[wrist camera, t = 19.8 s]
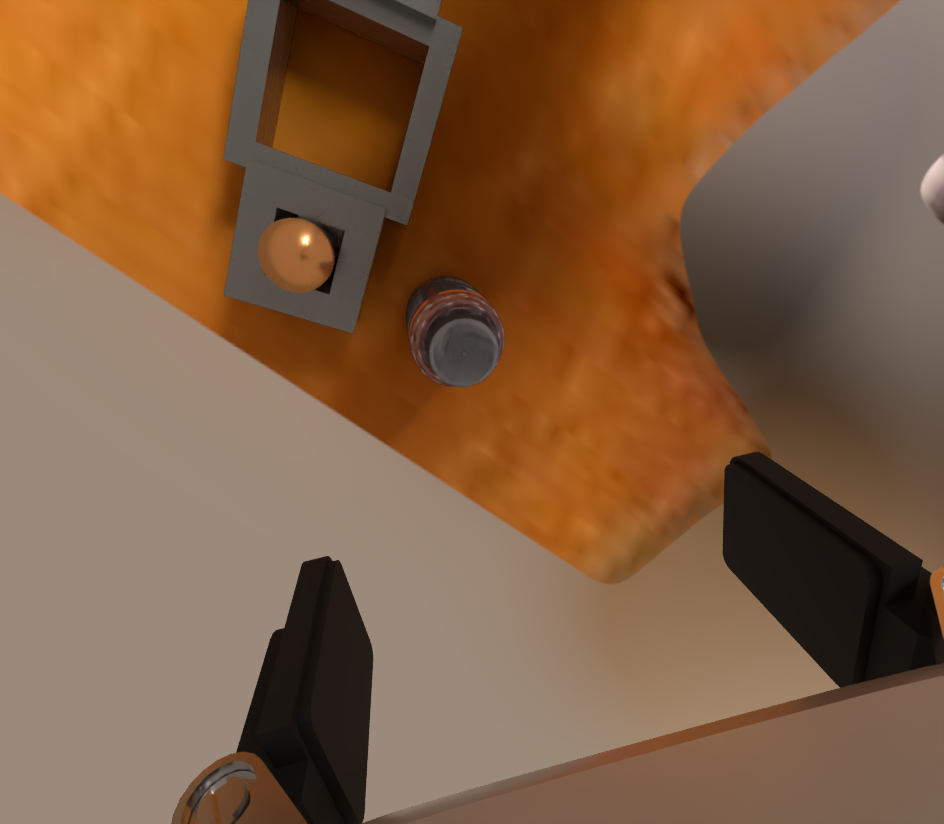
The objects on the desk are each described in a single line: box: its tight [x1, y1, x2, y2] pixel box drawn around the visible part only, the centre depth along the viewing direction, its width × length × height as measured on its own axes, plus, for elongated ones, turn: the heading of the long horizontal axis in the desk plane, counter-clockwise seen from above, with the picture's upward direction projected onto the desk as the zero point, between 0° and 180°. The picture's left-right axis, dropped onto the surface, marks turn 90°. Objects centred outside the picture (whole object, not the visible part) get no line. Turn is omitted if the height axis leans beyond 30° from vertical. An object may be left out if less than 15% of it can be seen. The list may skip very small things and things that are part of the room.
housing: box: [224, 0, 463, 334], centre depth 29 cm, size 26×11×5 cm, turn 161°
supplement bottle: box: [406, 276, 505, 387], centre depth 32 cm, size 6×6×11 cm
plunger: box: [258, 218, 337, 293], centre depth 30 cm, size 4×4×6 cm
